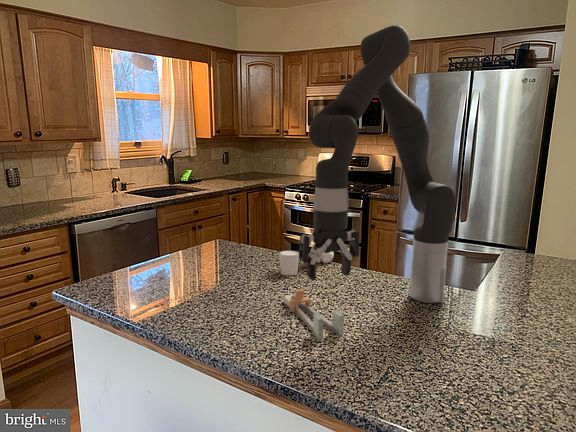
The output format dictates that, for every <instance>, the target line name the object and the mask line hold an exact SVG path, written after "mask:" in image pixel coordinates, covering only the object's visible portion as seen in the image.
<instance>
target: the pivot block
mask: <svg viewBox="0 0 576 432" xmlns="http://www.w3.org/2000/svg"><path fill="white" fill-rule="evenodd" d="M290 299H295V294H290V295H284V296H283V303H284V304H285V306H287V307H288V308H289V309H290ZM296 305H297V306H298V307H300V303H298V304H296Z"/></svg>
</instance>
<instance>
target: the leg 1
mask: <svg viewBox="0 0 576 432" xmlns="http://www.w3.org/2000/svg"><path fill="white" fill-rule="evenodd" d="M294 313H295V314H296V315H297V316H298V317H299V318H300V320H302V322H304V324H305V325H306V326H307V327H308V329H309V330H310V331H311V332H312V334H313V336H314V337H315V339H317V341H320V340H323V339H324V325H323V318H322V317H321V316H320V315H321V314H320V313H319V314H320V315H319V314H313V316H312V318H313V321H312V320H311V319H310V318H309V316H308V315H306V313H305V312H304V310H303V309H302V308H301V307H300V306H297V305H296V304H295V312H294Z"/></svg>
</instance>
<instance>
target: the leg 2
mask: <svg viewBox="0 0 576 432" xmlns="http://www.w3.org/2000/svg"><path fill="white" fill-rule="evenodd" d="M299 308H300V309H301V310H303V311H305V312H306V313H308V314H309V315H311V317H313V314H319V315H320V316H321V317H322V318H323V326H325V327H326V328H328V329H329V330H331V332H333V333H334V334H336V335H337V336H338V337H339V336H343V335H344V326H345V325H344V323H345V315H344V314H343V313H342V312H340V311H338V310H337V309H336V310H332V318H331V319H332V321H330V320H328V318H326V317H324V315H322V314H321V313H319V312H318V311H317V310H315V309H314V308H312V307H311V306H310V307H309V306H308V305H307V304H305V302H304V303H300V306H299Z"/></svg>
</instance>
